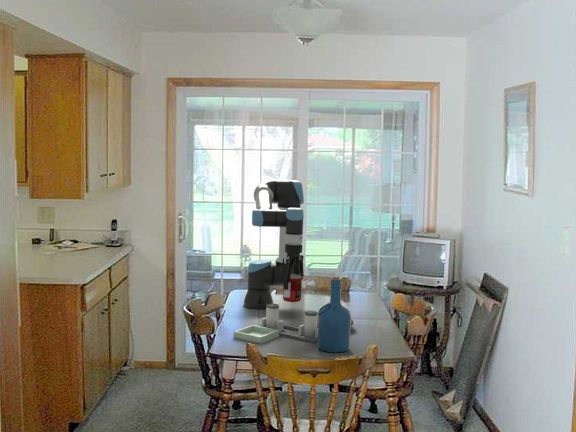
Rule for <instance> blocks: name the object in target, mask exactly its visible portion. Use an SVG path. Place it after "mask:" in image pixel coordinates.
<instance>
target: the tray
mask: <svg viewBox="0 0 576 432" xmlns="http://www.w3.org/2000/svg"><path fill="white" fill-rule="evenodd" d="M232 335H233V339H235V340H241V341H244V342H250V343H254V344H259V345H262V344H264V343H267V342H269V341H271V340H274V339H277V338H278V337H280V336H279V330H275V329H270V328H265V327H261V326H259V325H254V324H250V325H248V326H246V327H242V328H240V329H238V330H234V331H233V334H232Z"/></svg>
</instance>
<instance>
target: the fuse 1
mask: <svg viewBox="0 0 576 432" xmlns="http://www.w3.org/2000/svg"><path fill="white" fill-rule="evenodd" d="M265 310H266V312H265V314H266V315H265V317H266V328H270V329H275V330H277V322H278V321H279V317H280V305H279V304H277V303H273V304H267V307H266V309H265Z"/></svg>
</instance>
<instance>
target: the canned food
mask: <svg viewBox="0 0 576 432" xmlns="http://www.w3.org/2000/svg"><path fill="white" fill-rule="evenodd" d="M302 280H303V279H302V276H301V275H298V274H291V277H290V281H289V282H291V285H290V297H284V282H283V286H282V289H283V290H282V300H283V301H284V302H287V303H298V302H301V299H302V284H303V283H302V282H303V281H302Z"/></svg>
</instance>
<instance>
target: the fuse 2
mask: <svg viewBox="0 0 576 432" xmlns="http://www.w3.org/2000/svg"><path fill="white" fill-rule="evenodd" d="M317 320H318V311H317V310H306V311H304V320H303V321H304V335H303V337H308V338H313V339H314V338H315V329H317Z"/></svg>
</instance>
